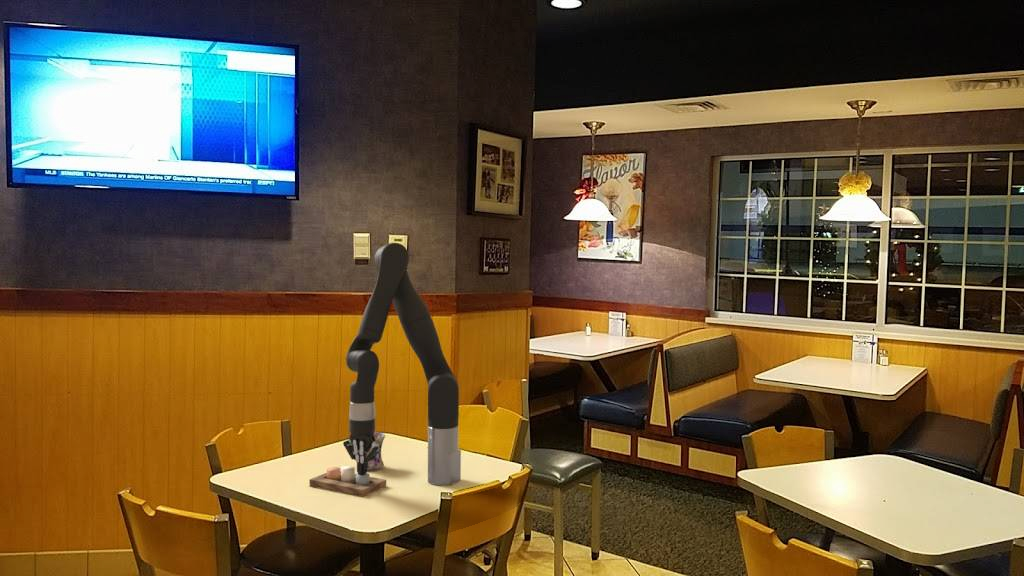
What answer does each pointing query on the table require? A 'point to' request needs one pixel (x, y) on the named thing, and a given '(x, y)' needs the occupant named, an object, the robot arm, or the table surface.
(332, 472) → the salmon pink cube
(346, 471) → the button mid
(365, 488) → the button board
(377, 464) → the mug
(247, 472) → the table surface
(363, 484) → the light blue cube
